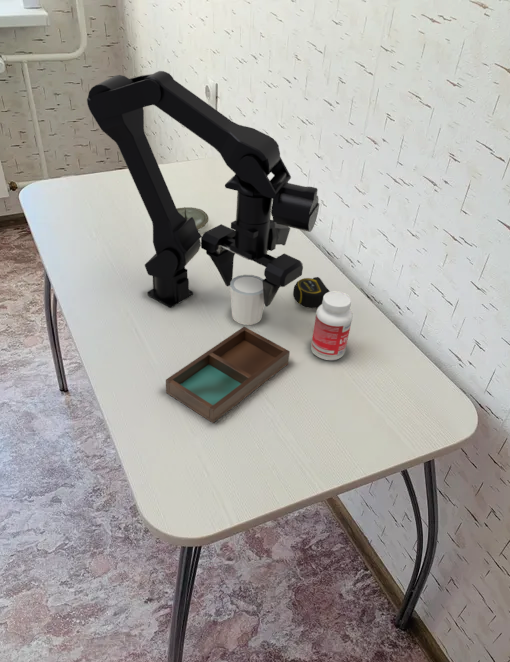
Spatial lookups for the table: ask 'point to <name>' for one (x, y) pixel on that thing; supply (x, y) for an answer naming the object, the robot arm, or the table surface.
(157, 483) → the table surface
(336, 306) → the pill bottle
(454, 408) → the table surface
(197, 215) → the grey green bowl
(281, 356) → the holder
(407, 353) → the table surface
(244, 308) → the white cup
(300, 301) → the tape measure
